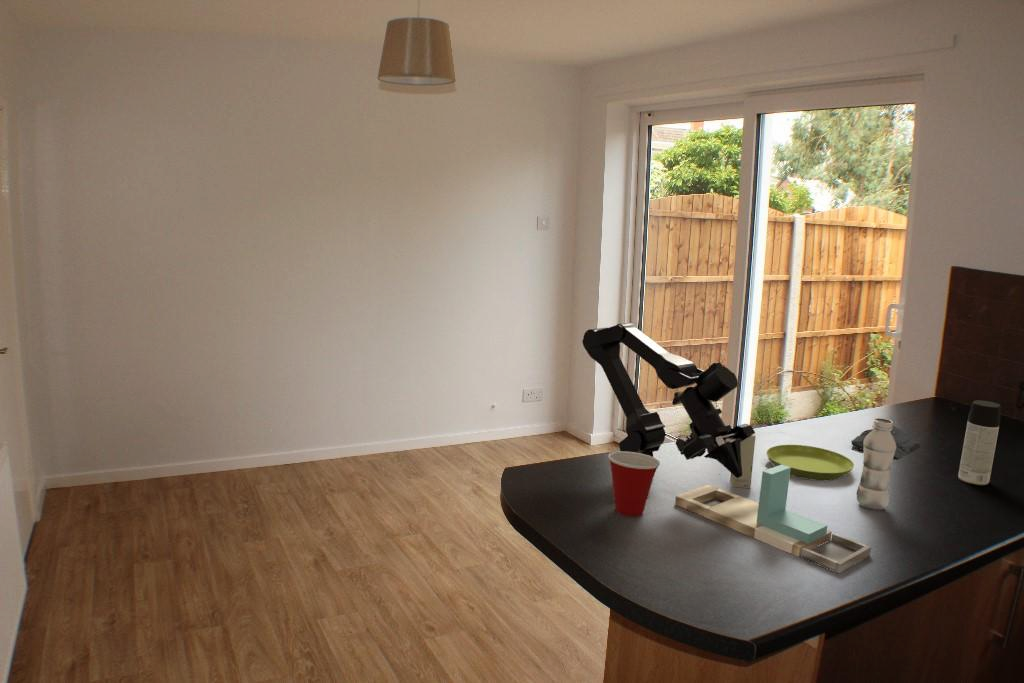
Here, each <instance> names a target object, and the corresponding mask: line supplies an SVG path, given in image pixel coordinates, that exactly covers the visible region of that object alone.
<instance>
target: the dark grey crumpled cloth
mask: <svg viewBox="0 0 1024 683" xmlns="http://www.w3.org/2000/svg"><path fill="white" fill-rule="evenodd" d="M873 429H874V428H871V429H865V430H863V431H862V432H861V433H860V434H859V435H857V436H856V437H855V438H854V439H852V440H851V441H850V443H851V445H852V446H853V447H854V448H857V449H859V450H862V451H864V448H863V446H864V445H863V443H864V439H865V437H866V436H867V435H868V434H869V433H870V432H871V431H872V430H873ZM890 433H891V435H892V436H893V438H894V440H895V442H896V451H895V454H894V457H893V460H900V459H902V458H903V457H905V456H906V455H907V456H908V455H909V454H910V453H912V452H913V451H915V450H917V449H918V448H919V447H921V444H920V442H918V441H917V440H915V439H913V438H911V437H910V436H909V435H908V434H907V433H906V431H904V430H903V429H901V428H899V427H896V426H894V425H892V431H890Z"/></svg>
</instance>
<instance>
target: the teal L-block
mask: <svg viewBox="0 0 1024 683" xmlns="http://www.w3.org/2000/svg"><path fill="white" fill-rule="evenodd" d="M790 470H791V467H788V466H785V465H779V466H776V467H775V466H774V467H770V468H768V469H764V470H762V473H761V474H762V475H761V483H760V491H759V498H758V503H759V506H758V514H757V522H756V523H758V524H760V525H762V526H765V527H767V528H770V529H772V530H775V531H777V532H779V533H782V534H784V535H787V536H789V537H792V538H794V539H796V540H799V541H801V542H804V543H806V544H809V543H811V542H813V541H815V540H817V539H819V538H821V537H823V536H825V535H826V533H827V530H828V525H827V524H825V523H823V522H820V521H817V520H815V519H812V518H811V517H806V516H805V515H801V514H799V513H796V512H794V511H791V510H788V509H786V508H787V499H788V491H789V484H790V477H791V475H790Z"/></svg>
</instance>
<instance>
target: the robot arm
mask: <svg viewBox="0 0 1024 683" xmlns="http://www.w3.org/2000/svg"><path fill="white" fill-rule="evenodd" d="M581 342H582V346H583V348H584V349H585V351H586V353H587V354H588V356H589V357H590V358H591V359H592V360H594V361H595V362H596V363H597V364H599V365H600V367H601V368H602V370H603V372H604V374H605V376H606V379H607V380H608V383H609V384H610V386H611V389H612V391H613V393H614V395H615V397H616V399H617V400H618V401H617V402H618V403H619V406H620V407H621V409H622V411H623V413H624V416H625V418H626V419H625V432H626V435H627V436H626V437H625V438H623V439H622V440H621V441H620V442H619V443H618V445H619V446H618V447H619V450H620V451H624V452H635V453H641V454H645V455H649V456H651V457H654V452H659V450H660V447H661V446H662V445H663V444H664V442H665V439H666V431H665V428H666V425H665V424H664V423H663V422H662V420H661V416H660V415H659V413H658V412H657V411H653V412H650V411H649V410H648V409H646V407H645V405H644V403H643V401H642V399H641V397H640V395H639V393H638V392H637V389H636V387H635V385H634V383H633V381H632V379H631V377H630V375H629V373H628V371H627V369H626V367H625V364H624V363H623V361H622V358H621V356H620V354H621V343H622V344H623V345H625V347H627V348H628V349H629V350H631V351H632V352H633V353H635V354H636V355H637V356H638V357H639V358H641V359H642V360H643V361H644V362H646V363H647V364H649V365H650V366H651V367H653V368H652V369H654V370H655V373H656V376H657V377H658V379H659V380H660V381H661V382H662V383H663V384H664V385H665V387H667V388H669V389H672V390H676V389H680V388H685V389H684V390H682V391H677V392H674V396H673V398H672V402H671V404H672V406H676V405H682V406H683V408H684V410H685V411H686V414H687V416H688V418H690V419H689V420H691V422H690V423H689V424H688V425H689V429H690V431H691V433H690V434H689V435H686V437H683V436H682V437H678V438H677V439H676V440H675V446H676V448H677V450H678V452H680V455H682V456H684V457H685V459H686V461H688V460H694V459H695V458H697V457H699V458H700V457H702V456H703V455H704V458H705V459H707V458H709V459H713V460H716V461H717V462H718V463H720V464H721V466H723V467H724V468H725V469H726V470H727V471H728V472H730V474H731V473H732V474H733V475H734V476H735V477H736V478H739V477H741V476H742V464H741V442H742V441H744V440H745V439H747V438H748V437H750V436H751V435H753V434H754V433H755V434H756V431H755V429H754V428H753V426H752V425H751V424H749V423H743V424H740V425H736V426H734V427H733V428H732V426H731V424H729V425H726V424H725V422H724V421H723V419H722V417H721V416H720V415H721V414H722V413H723V411H722V409H721V408H716V407H715V406H714V404H713V402H718V401H720V400H721V399H723V398H724V397H725V396H727V395H728V394H730V393H731V392H732V391H733V390H735V389H736V388H737V387H738V386H739V382H738V381H739V380H738V378H737V375H736V374H735V373H734V372H733V371H731V369H729V368H728V367H727V366H724V365H723V364H722V363H721V362H720V361H716V362H713V363H712V364H710V365H709V367H708V368H707V369H706V370H703V369H701V368H698V367H697V365H696V364H695V363H694V362H693V361H691V360H689V359H687V358H684V357H683V356H680V355H676V354H674V353H671V352H669V351H667V350H666V349H664V348H663V347H661V345H659V344H658V343H657V342H655V341H654V340H653V339H652V338H650V337H649V336H647V335H646V334H644V333H643V332H642V331H641V330H640V329H638V328H637V326H636V325H635V324H633V323H631V322H624V323H617V324H616V325H612V326H609V327H600V328H592V329H589V328H588V329H587V330H586V331H585V332H584V334H583V337H582V340H581ZM695 384H696V385H695ZM693 385H695V386H693ZM706 451H707V454H705V453H706Z"/></svg>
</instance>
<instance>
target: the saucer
mask: <svg viewBox="0 0 1024 683" xmlns="http://www.w3.org/2000/svg"><path fill="white" fill-rule="evenodd" d="M765 453H766V456H767V458H768V460H769V461H770V462H771V464H772V465H773V466H774V467H776V466H779V465H785V466H788V467H791V470H790V476H792V477H795V478H800V479H805V480H812V481H834V480H839V479H840V478H843V477H845V476H847V475H848V474H849V473H850V472H851V471H853V469H854V467H855V464H854V462H853V461H852V460H851V458H849V457H847V456H845V455H843V454H841V453H838V452H836V451H832V450H829V449H825V448H822V447H817V446H810V445H803V444H780V445H779V444H777V445H774V446H771V447H770V448H768V449H767V450H766V452H765Z"/></svg>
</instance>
